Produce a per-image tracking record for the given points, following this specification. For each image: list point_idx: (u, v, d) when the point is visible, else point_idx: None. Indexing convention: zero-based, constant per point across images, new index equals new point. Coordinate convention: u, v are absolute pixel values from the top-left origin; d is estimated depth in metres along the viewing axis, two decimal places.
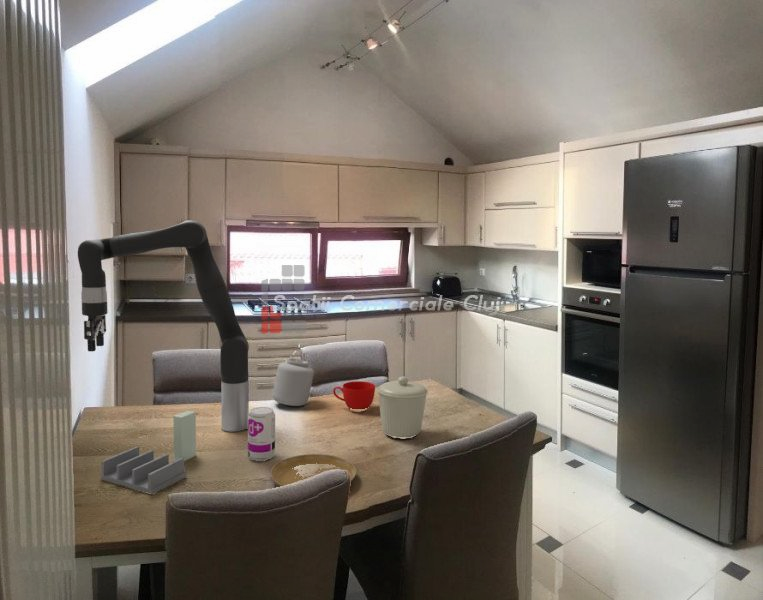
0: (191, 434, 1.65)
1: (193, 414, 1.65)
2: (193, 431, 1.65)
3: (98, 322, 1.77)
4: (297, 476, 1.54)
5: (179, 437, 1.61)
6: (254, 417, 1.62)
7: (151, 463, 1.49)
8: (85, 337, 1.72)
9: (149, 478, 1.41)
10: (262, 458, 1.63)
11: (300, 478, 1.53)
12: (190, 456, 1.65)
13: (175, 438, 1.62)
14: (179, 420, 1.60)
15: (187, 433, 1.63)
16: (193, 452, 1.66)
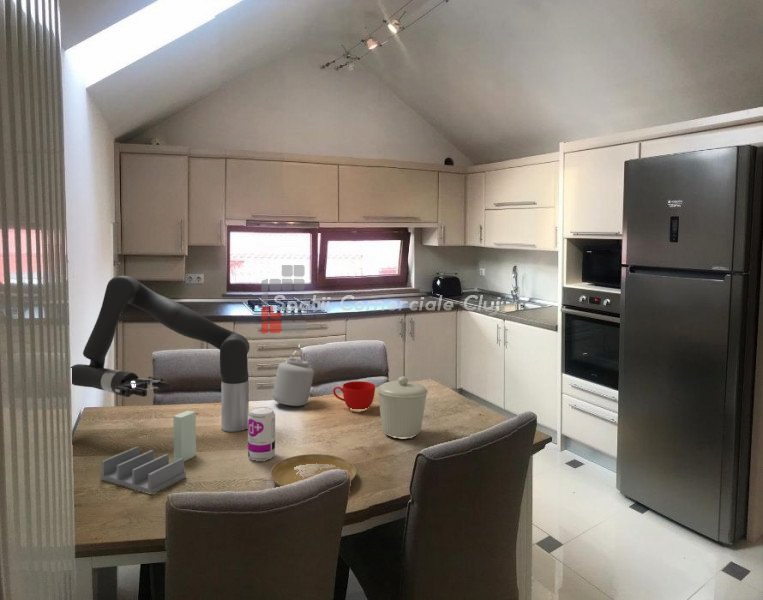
0: (191, 434, 1.65)
1: (193, 414, 1.65)
2: (193, 431, 1.65)
3: (130, 381, 1.69)
4: (297, 476, 1.54)
5: (179, 437, 1.61)
6: (254, 417, 1.62)
7: (151, 463, 1.49)
8: (126, 395, 1.63)
9: (149, 478, 1.41)
10: (262, 458, 1.63)
11: (300, 478, 1.53)
12: (190, 456, 1.65)
13: (175, 438, 1.62)
14: (179, 420, 1.60)
15: (187, 433, 1.63)
16: (193, 452, 1.66)
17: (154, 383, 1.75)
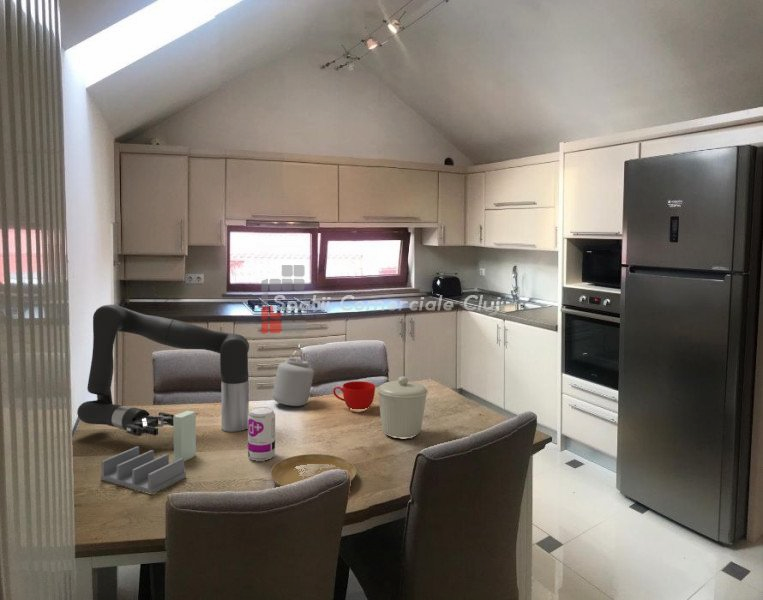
0: (191, 434, 1.65)
1: (193, 414, 1.65)
2: (193, 431, 1.65)
3: (141, 419, 1.69)
4: (297, 476, 1.54)
5: (179, 437, 1.61)
6: (254, 417, 1.62)
7: (151, 463, 1.49)
8: (137, 434, 1.63)
9: (149, 478, 1.41)
10: (262, 458, 1.63)
11: (300, 478, 1.53)
12: (190, 456, 1.65)
13: (175, 438, 1.62)
14: (179, 420, 1.60)
15: (187, 433, 1.63)
16: (193, 452, 1.66)
17: (165, 419, 1.75)
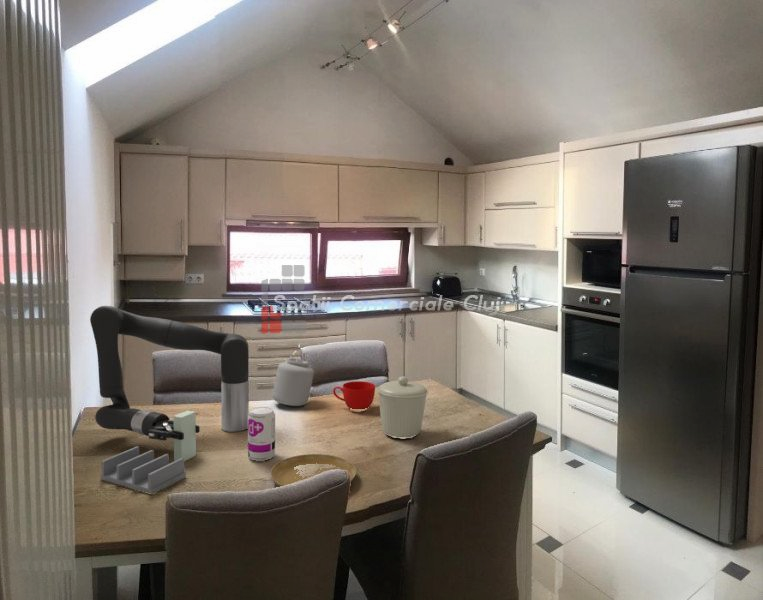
0: (191, 434, 1.65)
1: (193, 414, 1.65)
2: (193, 431, 1.65)
3: (162, 424, 1.65)
4: (297, 476, 1.54)
5: None
6: (254, 417, 1.62)
7: (151, 463, 1.49)
8: (163, 439, 1.60)
9: (149, 478, 1.41)
10: (262, 458, 1.63)
11: (300, 478, 1.53)
12: (190, 456, 1.65)
13: None
14: (179, 420, 1.60)
15: (187, 433, 1.63)
16: (193, 452, 1.66)
17: None
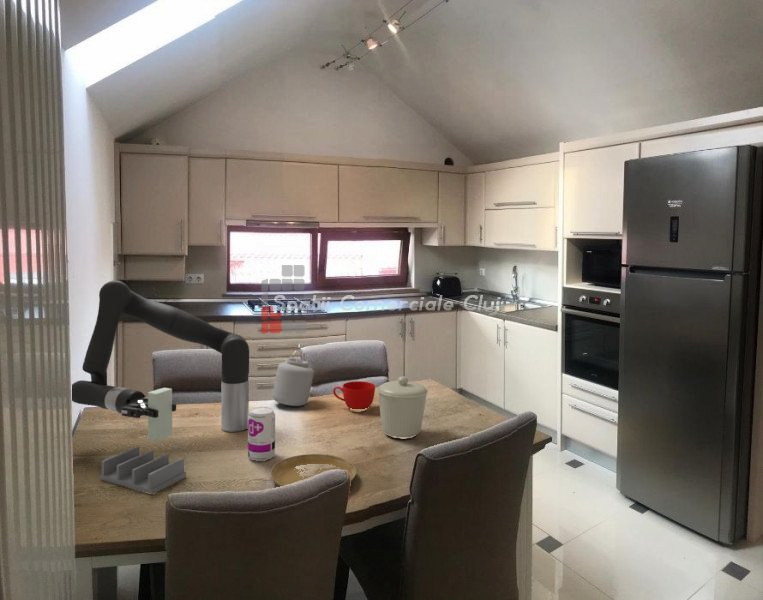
0: (167, 412, 1.56)
1: (169, 391, 1.56)
2: (169, 409, 1.56)
3: (137, 401, 1.56)
4: (297, 476, 1.54)
5: None
6: (254, 417, 1.62)
7: (151, 463, 1.49)
8: (136, 416, 1.51)
9: (149, 478, 1.41)
10: (262, 458, 1.63)
11: (300, 478, 1.53)
12: (166, 435, 1.56)
13: None
14: (154, 396, 1.51)
15: (163, 411, 1.54)
16: (169, 431, 1.57)
17: None
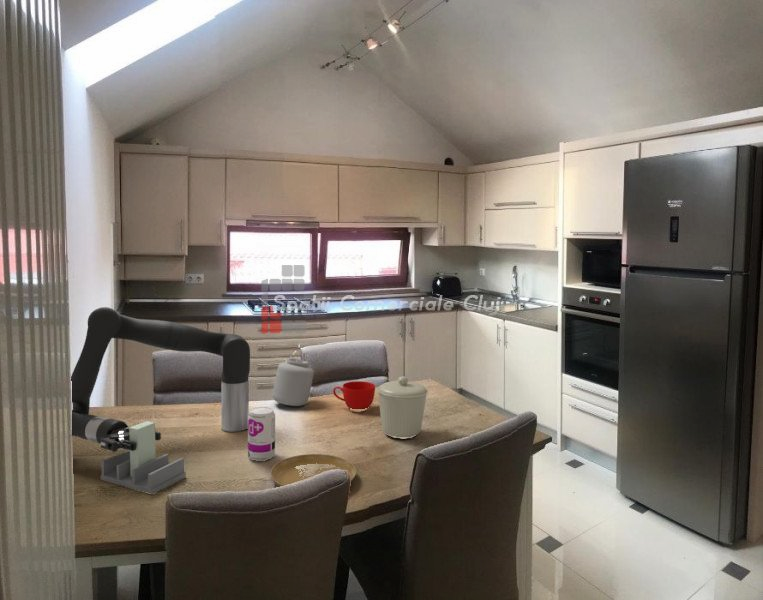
0: (149, 447, 1.50)
1: (152, 425, 1.50)
2: (152, 444, 1.51)
3: (118, 432, 1.50)
4: (297, 476, 1.54)
5: (135, 450, 1.47)
6: (254, 417, 1.62)
7: (151, 463, 1.49)
8: (112, 449, 1.44)
9: (149, 478, 1.41)
10: (262, 458, 1.63)
11: (300, 478, 1.53)
12: None
13: (131, 452, 1.47)
14: (136, 432, 1.46)
15: (145, 446, 1.49)
16: None
17: None
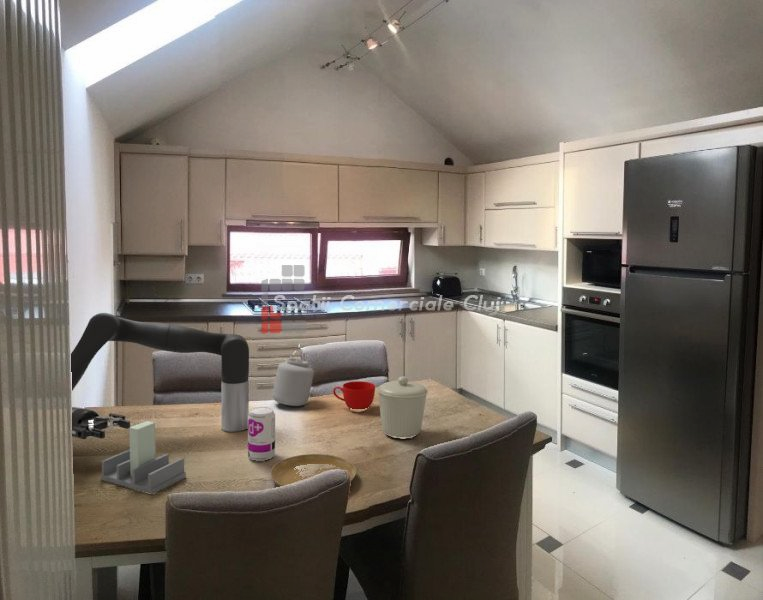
0: (149, 447, 1.50)
1: (152, 425, 1.50)
2: (152, 444, 1.51)
3: (88, 421, 1.56)
4: (297, 476, 1.54)
5: (135, 450, 1.47)
6: (254, 417, 1.62)
7: (151, 463, 1.49)
8: (82, 437, 1.50)
9: (149, 478, 1.41)
10: (262, 458, 1.63)
11: (300, 478, 1.53)
12: None
13: (131, 452, 1.47)
14: (136, 432, 1.46)
15: (145, 446, 1.49)
16: None
17: (115, 421, 1.63)
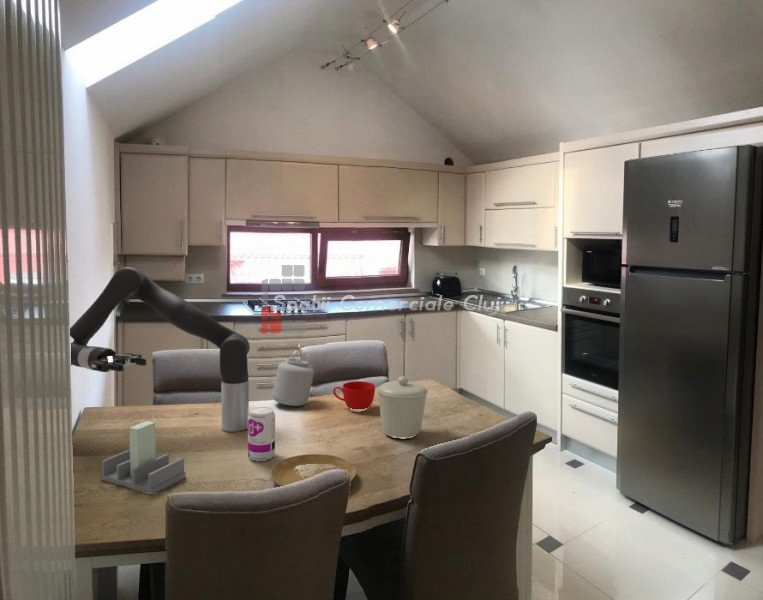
0: (149, 447, 1.50)
1: (152, 425, 1.50)
2: (152, 444, 1.51)
3: (107, 357, 1.66)
4: (297, 476, 1.54)
5: (135, 450, 1.47)
6: (254, 417, 1.62)
7: (151, 463, 1.49)
8: (102, 370, 1.60)
9: (149, 478, 1.41)
10: (262, 458, 1.63)
11: (300, 478, 1.53)
12: None
13: (131, 452, 1.47)
14: (136, 432, 1.46)
15: (145, 446, 1.49)
16: None
17: (132, 360, 1.73)
